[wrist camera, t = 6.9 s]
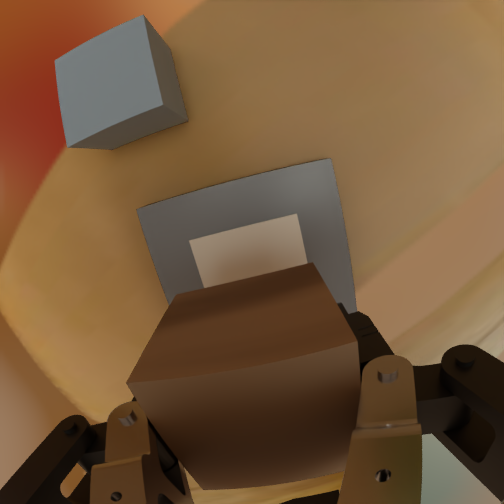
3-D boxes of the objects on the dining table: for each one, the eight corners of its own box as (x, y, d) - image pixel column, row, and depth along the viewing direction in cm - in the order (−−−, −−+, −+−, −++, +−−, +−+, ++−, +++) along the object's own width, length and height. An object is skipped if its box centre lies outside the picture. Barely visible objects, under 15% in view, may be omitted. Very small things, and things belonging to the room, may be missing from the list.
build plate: (142, 206, 17) (135, 209, 16) (326, 158, 16) (331, 158, 15) (198, 360, 20) (195, 370, 19) (354, 326, 19) (359, 334, 18)
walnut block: (176, 294, 11) (125, 383, 6) (312, 262, 10) (357, 340, 5) (217, 394, 12) (203, 489, 7) (331, 371, 11) (362, 465, 7)
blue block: (98, 80, 15) (54, 60, 10) (170, 49, 14) (143, 14, 9) (112, 149, 16) (67, 147, 11) (188, 121, 15) (163, 104, 11)
